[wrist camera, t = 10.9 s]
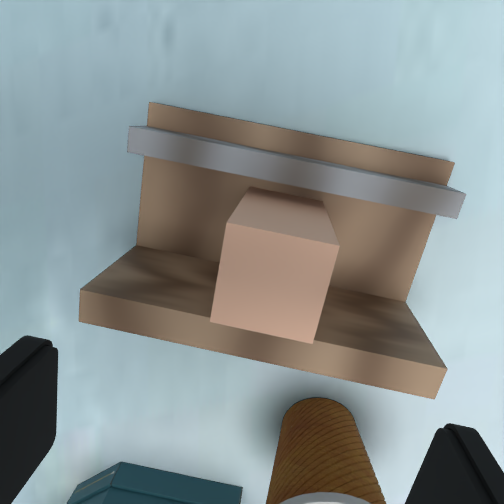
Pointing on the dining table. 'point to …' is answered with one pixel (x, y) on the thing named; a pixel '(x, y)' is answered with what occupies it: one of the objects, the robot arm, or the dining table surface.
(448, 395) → the dining table surface
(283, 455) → the disposable coffee cup
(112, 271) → the cleat board
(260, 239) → the terracotta block
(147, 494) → the donation box
